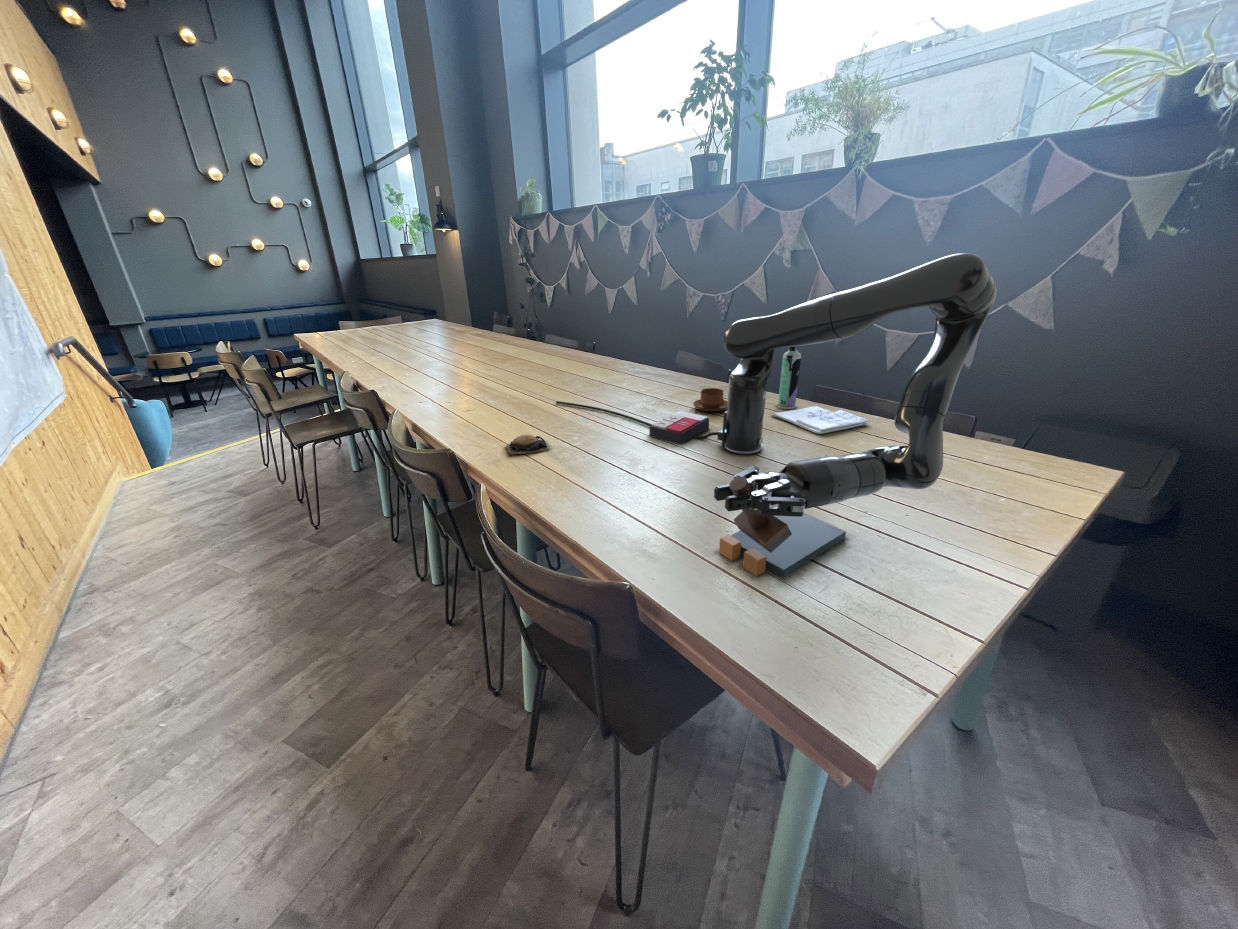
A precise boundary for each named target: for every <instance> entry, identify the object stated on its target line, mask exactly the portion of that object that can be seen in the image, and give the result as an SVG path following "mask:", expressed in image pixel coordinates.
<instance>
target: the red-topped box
mask: <svg viewBox="0 0 1238 929" xmlns="http://www.w3.org/2000/svg"><path fill="white" fill-rule="evenodd" d="M651 424H652V425H651V426H648V428H649V437H653V438H656V439H659V440H664V441H667V442H672V443H676V444H683V443H685V442H686V441H688V440H690V439H693V438H692V437H693V436H698V434H700V433H702V434H703V433H704V432H707V431H709V429H710V417H708V416H706V415H701V414H696V413H691V412H687V411H682V410H678V411H676V412H674V413H672V414H669V415H667V416H665V417H662V419H659V420H658V421H655V422H653V423H651Z"/></svg>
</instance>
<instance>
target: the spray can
mask: <svg viewBox="0 0 1238 929" xmlns="http://www.w3.org/2000/svg"><path fill="white" fill-rule="evenodd" d="M801 361H802V354H801V352H799V351H798V349H797V346H791V347H789V349H788V350H787V351H786V352H784V353H783V356H782V363H781V373H780V381H779V391H778V399H777V400H778V401H777V408H778V409H782V410H795V408H796V404H797V395H798V387H799V378H800V370H801Z"/></svg>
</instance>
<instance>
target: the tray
mask: <svg viewBox="0 0 1238 929" xmlns="http://www.w3.org/2000/svg"><path fill="white" fill-rule="evenodd" d="M775 517H777V518H778V519H780V520H781V521H783V522H784V523H786V524H787V525H788V527H789V529H790V531H791V533H792V535H791V536H790V537H788V538H787V539H786V540H785V541H784V542H783V543H782V544H780V545H779V546H778V547H777V548H776V549H775V550H774V551H773V552H771V553H770V552H769V551H767V550H766V549H765V548H763V547H762V546H761V545H759V544H758V543H757V542H755V541H754V540H753V539H751V538H750V537H749V536H747V535H746V534H745V533H743V532H742V531H741V530H740V529H739V530H738V531H736V532H734V533H732V534H729V535H730V536H732V537H734V538H735V539H737V540H739V541H740V542H741V551H740V555H742V556H744V552H745V551H747V550H750V549H752V548H754V549H755V550H757V551H758V552H760V553H762V554H763V555H765V556H766V557H767V559H766V568H765V569H767V570H768V571H770V572H772V573H774V574H776V575H777V576H779V577H781V578H785V577H786V576H788V575H789V574H791V573H792V572H794V571H796V570H797V569H799V568H801V567H802V566H804V565H805V564H807V563H808V562H810V561H811V560H813V559H815V558H816V557H819V555H822V553H824V552H825V551H827V550H829V549H830V548H832V547H834V546H835V545H837V544H839V543H840V542H842V541H844V540H845V539H846V535H847V530H844V529H842V528H839V527H837V526H835V525H832V524H830V523H828V522H825V521H823V520H820V519H818V518H816V517H813V516H811V515H809V514H808V513H805V512H804V513H803V516H802V517H795V516H775Z"/></svg>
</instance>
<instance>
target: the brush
mask: <svg viewBox="0 0 1238 929" xmlns="http://www.w3.org/2000/svg"><path fill="white" fill-rule="evenodd" d="M728 484H729V487H730V489H731V491H732V493H733V495H737V494H744V493H749V494H750V495H751V493H752V492H753V490H752V488H751V486H750V484H749V482H748V480H747V479H746V478H745V477H737V478H735V479H734V478H733V479H731V481H730V482H729V483H728ZM733 522H734V523H735V526H736V527H737V528H738V530H739V531H740V530H741V531H742V532H743V533H745V534H746V535H747V536H749V537H750V538H751V539H753V540H754V541H755V542H757V543H758V544H759V545H761V546H762V547H763V548H765V549H766V550H767V551H769V552H770V553H771V552H773V551H774V550H775V549H776V548H777V547H778V546H779V545H780V544H782V543H783V542H784V541H785V540H786V539H787V538H788V537H790V536H791V535H792V533H791V531H790V529H789V527H788V525H787V524H786V523H784V522H783V521H781V520H780V519H778V518H777V517H775V516H772V515H762V514H761V513H760V510H752V509H750V508H748V509H742V510H741V512H740V513H739V514H738V515H737V516H736V517H734V518H733Z"/></svg>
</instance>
